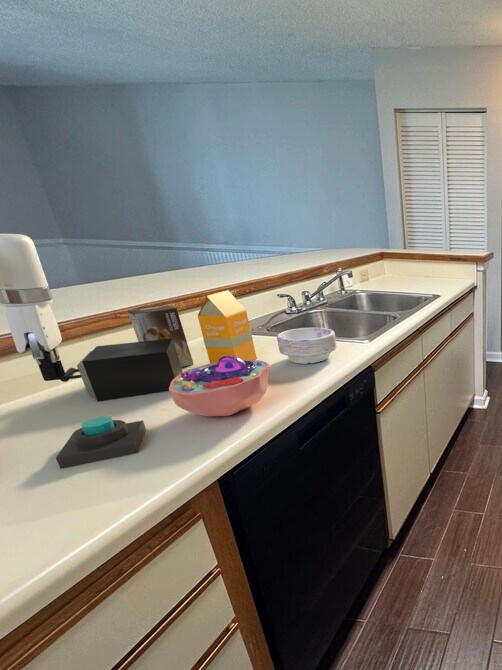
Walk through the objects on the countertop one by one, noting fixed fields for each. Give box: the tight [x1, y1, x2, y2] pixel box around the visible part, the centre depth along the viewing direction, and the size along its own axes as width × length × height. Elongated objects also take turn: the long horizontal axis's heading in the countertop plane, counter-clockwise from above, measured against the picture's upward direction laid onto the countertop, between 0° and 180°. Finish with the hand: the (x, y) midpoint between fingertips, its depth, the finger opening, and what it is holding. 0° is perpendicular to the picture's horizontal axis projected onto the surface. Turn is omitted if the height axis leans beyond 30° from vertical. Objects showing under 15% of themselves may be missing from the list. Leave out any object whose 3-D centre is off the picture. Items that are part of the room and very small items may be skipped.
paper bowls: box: [276, 327, 337, 365], centre depth 122 cm, size 15×15×8 cm
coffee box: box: [127, 304, 194, 368], centre depth 113 cm, size 9×6×16 cm
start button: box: [80, 416, 115, 435], centre depth 75 cm, size 4×4×2 cm
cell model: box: [168, 355, 270, 417], centre depth 90 cm, size 17×20×11 cm
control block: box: [55, 419, 147, 470], centre depth 76 cm, size 10×10×4 cm
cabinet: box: [81, 338, 184, 402], centre depth 101 cm, size 15×13×10 cm
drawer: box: [59, 350, 96, 399], centre depth 99 cm, size 18×11×8 cm, turn 122°
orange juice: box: [197, 289, 258, 364], centre depth 116 cm, size 8×9×20 cm
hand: (55, 378), depth 94 cm, fingers closed
